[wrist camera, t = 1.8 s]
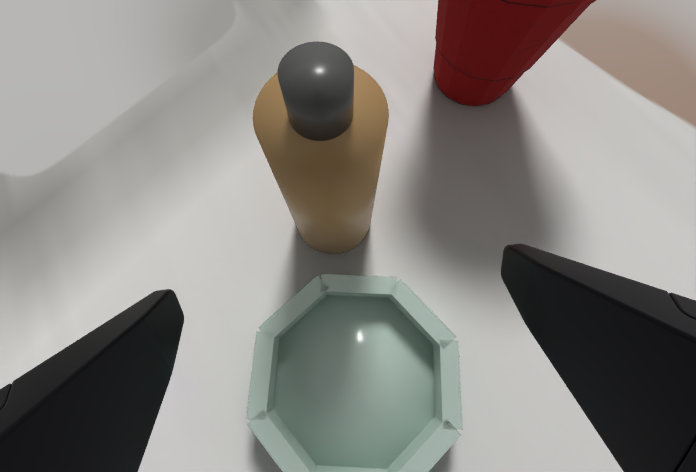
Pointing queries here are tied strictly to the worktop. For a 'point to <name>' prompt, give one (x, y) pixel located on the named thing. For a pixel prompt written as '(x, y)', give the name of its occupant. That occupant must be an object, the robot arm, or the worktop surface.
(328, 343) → the dish
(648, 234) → the worktop surface
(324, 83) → the bottle
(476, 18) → the plastic cup
